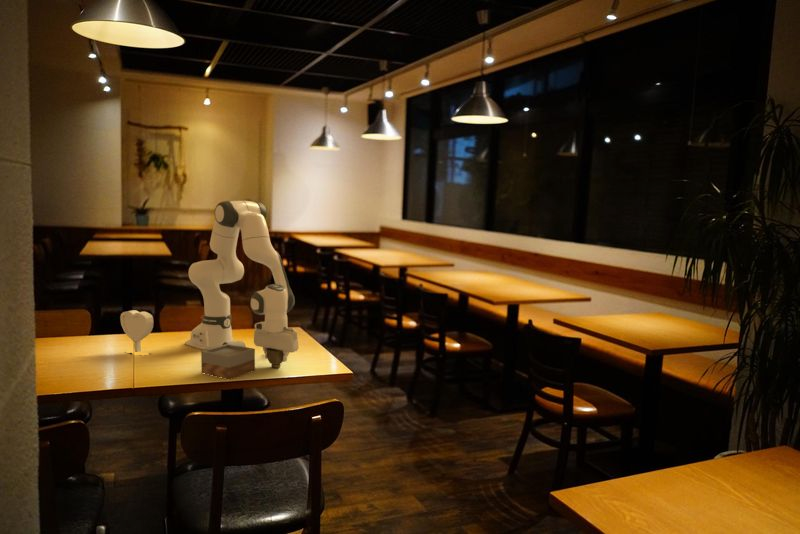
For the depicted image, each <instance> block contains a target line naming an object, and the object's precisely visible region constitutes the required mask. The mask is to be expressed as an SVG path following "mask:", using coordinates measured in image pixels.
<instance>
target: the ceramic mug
mask: <svg viewBox="0 0 800 534" xmlns="http://www.w3.org/2000/svg"><path fill="white" fill-rule="evenodd" d="M225 344H231V345H237V346H242V347H247V346H246V344H245V342H244V341H242V340H241V341H240V340H234V341H231V342H224V343H223V344H222V345H225Z"/></svg>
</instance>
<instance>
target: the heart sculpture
mask: <svg viewBox="0 0 800 534" xmlns="http://www.w3.org/2000/svg"><path fill="white" fill-rule="evenodd" d="M119 319H120V325H121V327H122V329H123V332H124V333H125V334H126V336H127V338H129V339H130V340H131V341H132V342H133V344H134V345H133V347H134V350H135V352H141V350H142V349H141V341H143V339H144V338H147V337H148V336H149V335H150V334H151V332H152V331H153V328H154V317H153V315H152V314H151V313H149V312H147V311H138V310H135V309H134V310H133V309H132V310H128V311H123V312H122V313H120V317H119Z"/></svg>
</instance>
